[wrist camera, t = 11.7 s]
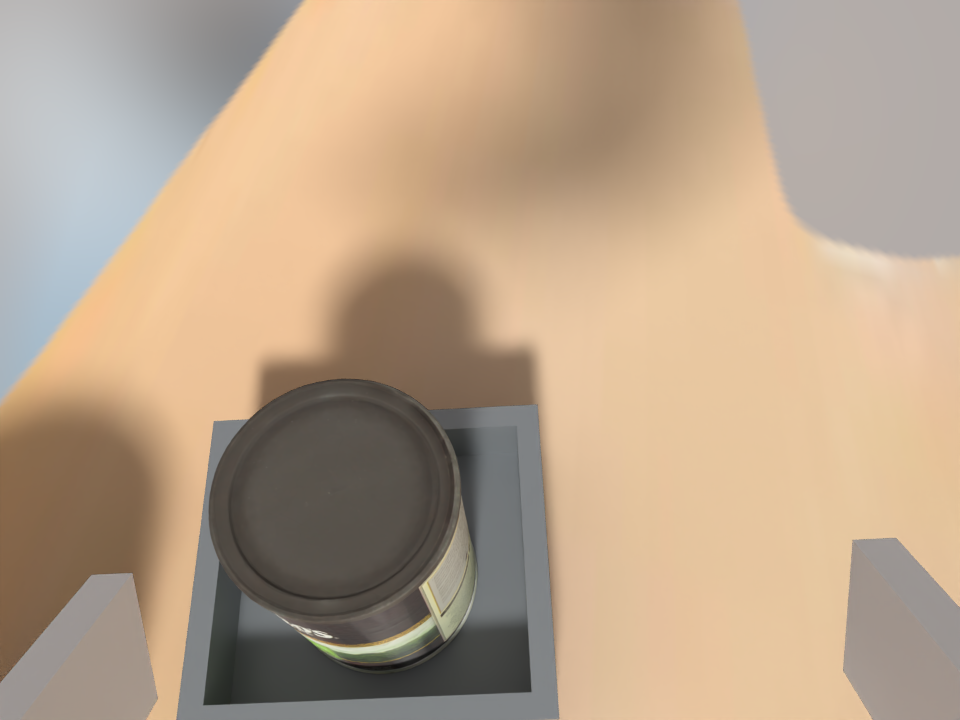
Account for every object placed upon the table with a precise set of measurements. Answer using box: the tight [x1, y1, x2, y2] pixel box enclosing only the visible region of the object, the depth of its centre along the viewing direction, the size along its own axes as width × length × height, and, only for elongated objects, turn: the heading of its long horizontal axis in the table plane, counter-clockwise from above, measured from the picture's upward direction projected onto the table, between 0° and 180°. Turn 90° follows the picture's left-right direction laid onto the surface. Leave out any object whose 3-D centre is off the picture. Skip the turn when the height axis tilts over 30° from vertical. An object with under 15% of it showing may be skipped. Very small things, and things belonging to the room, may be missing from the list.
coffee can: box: [208, 379, 478, 674], centre depth 41 cm, size 10×10×14 cm
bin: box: [176, 405, 559, 720], centre depth 47 cm, size 18×16×7 cm
